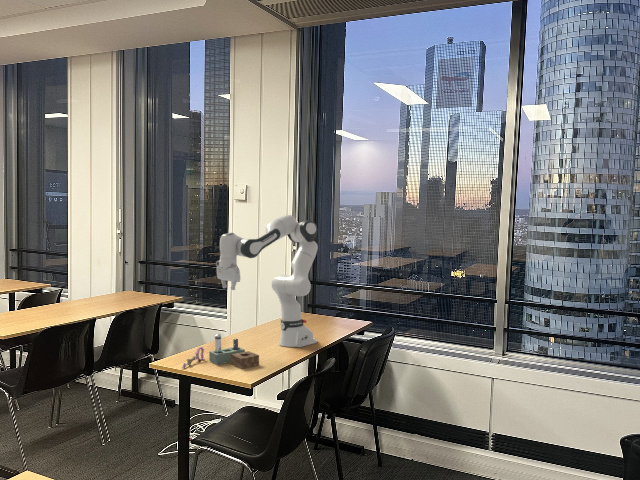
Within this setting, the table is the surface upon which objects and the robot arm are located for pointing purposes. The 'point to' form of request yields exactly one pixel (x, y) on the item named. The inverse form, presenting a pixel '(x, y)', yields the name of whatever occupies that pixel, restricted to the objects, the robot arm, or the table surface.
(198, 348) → the decorative key
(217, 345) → the metal cylinder rod
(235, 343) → the dark grey peg
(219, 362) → the drill rack
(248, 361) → the socket block
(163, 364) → the table surface
